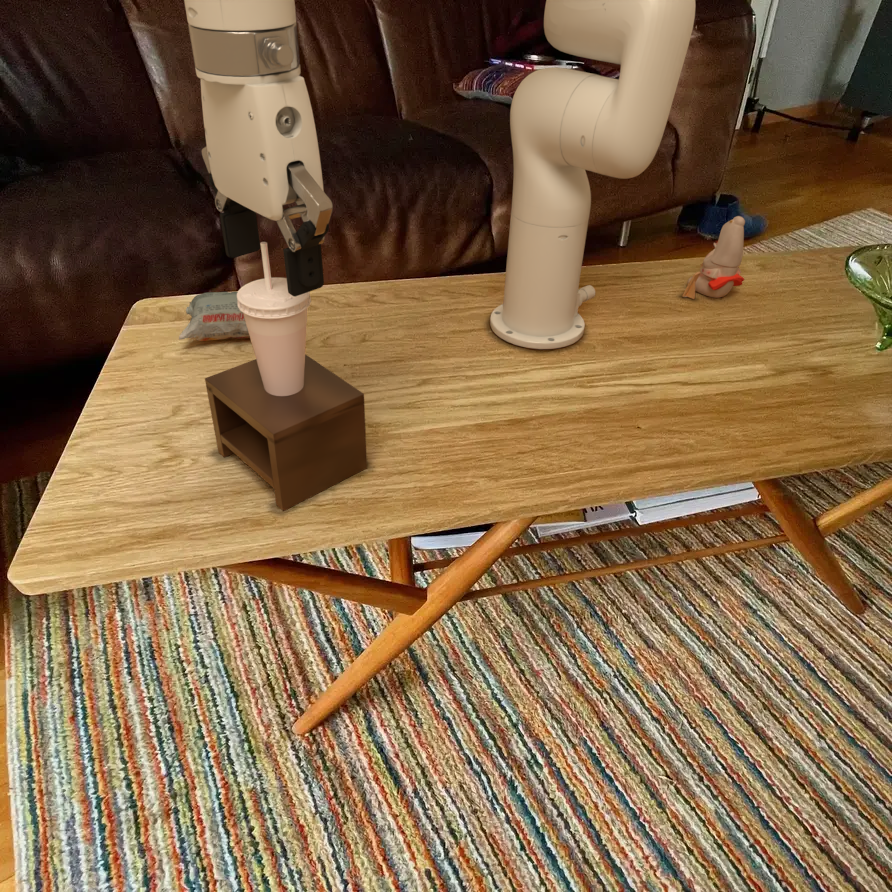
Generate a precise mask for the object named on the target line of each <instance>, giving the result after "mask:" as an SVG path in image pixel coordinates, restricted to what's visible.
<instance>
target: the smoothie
mask: <svg viewBox="0 0 892 892" xmlns="http://www.w3.org/2000/svg"><path fill="white" fill-rule="evenodd" d="M260 250H261V261H262V267H263V275H264V276H263V277H264V278H260V279H255V280H253V281H250V282H248V283H246V284H244V285H243V286H241V287H240V288H239V289H238V291H236V292H237V300H238V302H237V303H238V308H239V309H240V311H241V312H243V314H244V318H245V321H246V325H247V328H248V332H249V335H250V338H249V339H250V342H251V345H252V349H253V353H254V357H255V359H256V360H257V364H258V367H259V371H260V374H261V378H262V381H263V385H264V388H265V390H266V392H268V393H269V394H271V395H275V396H289V395H293V394H295V393H297V392H299V391H300V390H301V389H302V388H303V386H304V368H305V354H306V343H307V323H308V308H309V307H310V306H311V304H312V297H311V291H310V292H307V293H304V294H301V295H298V296H292V295H291V294H289V293H288V287H287V278H286V277H277V276H275V277H272V275H271V274H272V273H271V266H270V257H269V248H268V242H267V241H260Z"/></svg>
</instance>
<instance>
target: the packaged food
mask: <svg viewBox="0 0 892 892" xmlns="http://www.w3.org/2000/svg"><path fill="white" fill-rule="evenodd" d="M237 292H238V291H230V292H229V291H215V292H214V291H213V292H212V291H211V292H203V293H200V294H196V295H195V296H194V297H193V298H192V300H191V301H190V302H189V305H188V306H186V308H185V313H186V315H189V316H191V318H190V320H189V323H188V324H187V326H186V327H185V328H184V329H183V330H182V332H181V333H180V334H179V336H178V340H179V341H180V340H185V339H194V340H196V341H200V342H208V341H218V340H219V341H221V340H229V339H236V340H240V339H250V335H249V332H248V328H247V325H246V321H245V318H244V314H243V312H241V311H240V309H239V308H238V303H237V302H238V300H237Z"/></svg>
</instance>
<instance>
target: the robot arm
mask: <svg viewBox="0 0 892 892" xmlns="http://www.w3.org/2000/svg"><path fill="white" fill-rule="evenodd" d="M183 2H184V8H185V13H186V20H187V23H188V24H187V27H188V33H189V39H190V45H191V51H192V57H193V62H194V69H195V75H196V77H197V78H198V79H200V95H201V96H200V97H201V106H202V109H201V110H202V119H203V127H204V128H203V129H204V136H205V144H206V146H204V147H203V148H202V149H201V156H202V159H203V162H204V164H205V168H206V170H207V173H208V174H209V175H208V183H209V185H210V187H211V188H212V190H213V191H214V194H215V198H214V205H215V207H216V210H217V211H218V212H220V213H219V221H220V225H221V231H222V238H223V243H224V250H225V255H226V256H227V257H228V258H230V259H235V258H240V257H242V256H245V255H249V254H253V253H255V252H258V251H260V250H261V244H260V243H261V240H260V233H259V225H258V218H257V214H258V215H260V216H262V217H265V218H266V219H269V220H271V221H275V222H276V224H277V226H278V228H279V230H280V232H281V234H282V236H283V238H284V241H285V242H286V245H287V247H285V248H283V249H282V250H283V259H284V261H283V262H284V268H285V276H286V277H285V278H287V287H288V293H289V294H291V295H292V296H298V295H301V294H304V293H307V292H310V293H311V292H313V291H315V290H319V289H321V288H323V286H324V284H325V280H324V277H325V276H324V269H323V267H324V266H323V254H322V244H323V243H325V241H326V238H325V237H326V236H327V233H329V230H330V220H331V216H332V213H333V210H334V207H333V201H332V200H331V198H330V197H329V196H328V194H326V193H325V191H324V190H325V189H324V181H323V171H322V163H321V155H320V147H319V142H318V141H319V140H318V135H317V129H316V123H315V118H314V117H315V116H314V112H313V107H312V104H311V99H310V95H309V91H308V87H307V85H306V81H305V78H304V77H303V76H301V73H302V72H301V71H302V70H301V64H300V63H301V61H300V48H299V37H298V26H297V14H296V13H297V12H296V3H295V0H183ZM695 18H696V0H546V1H545V6H544V13H543V30H544V35H545V38H546V40H547V42H548V43H549V44H550V45H551V46H552V47H553V48H554V49H556V50H558V51H559V52H562V53H565V54H568V55H570V56H571V55H572V56H575V57H580V58H585V59H590V60H594V61H598V62H599V61H600V62H604V63H611V64H615V65H620V69H619V76H618V79H617V78H614V77H608V76H603V75H600V74H597V73H590V72H588V71H587V72H586V71H582V70H578V69H571V68H566V67H555V66H554V67H544V68H541V69H537V70H534V71H532V72H531V73H529V74H528V75H527V76H526V77H524V78H523V79H522V80H521V82H520V83H519V85H518V86H517V88H516V90H515V92H514V94H513V97H512V100H511V103H510V110H509V111H510V112H509V129H510V138H511V147H512V148H511V149H512V157H513V159H512V160H513V161H512V163H513V178H512V179H513V181H512V182H513V183H512V197H511V198H512V199H511V210H510V220H509V230H508V232H509V233H508V242H507V253H506V254H507V257H506V268H505V278H504V289H503V302H502V303H501V304H499V305H498V306H496V307H495V308H494V309H493V310H492V312H491V313H490V318H489V320H490V321H489V326H490V328H491V330H492V332H493V333H494V335H496V336H497V337H499V338H500V339H501V340H503V341H505V342H507V343H509V344H511V345H514V346H518V347H522V348H527V349H533V350H554V349H561V348H566V347H569V346H571V345H573V344H575V343H576V342H578V341H580V339H581V338H582V337H583V335H584V333H585V327H586V326H585V325H586V323H585V320H584V318H583V317H582V315H581V314H580V313H579V312H578V311H579V308H580V307H581V306H582V305H583V303H585V302H587V301H589V300H592V299H594V298H595V297H596V289H595V288H594V286H593V285H591V284H588V285H585V286H583V287H580V282H581V281H580V280H581V272H582V266H583V260H584V254H585V253H584V252H585V248H586V247H585V246H586V240H587V234H588V233H587V232H588V227H589V221H590V220H589V219H590V214H591V208H592V206H591V205H592V192H591V186H590V181H589V178H588V175H587V171H589V172H592V173H595V174H599V175H602V176H607V177H610V178H616V179H621V180H622V179H623V180H624V179H627V180H628V179H632V178H635V177H638V176H639V175H640V174H642V173H643V172H645V171H646V170H647V169H648V167H649V166H650V165H651V163H652V162H653V160H654V158H655V157H656V155H657V152H658V149H659V147H660V145H661V141H662V139H663V137H664V133H665V129H666V126H667V123H668V119H669V115H670V113H671V109H672V105H673V102H674V98H675V95H676V91H677V88H678V84H679V81H680V77H681V75H682V70H683V66H684V63H685V60H686V56H687V52H688V49H689V45H690V42H691V37H692V33H693V29H694V23H695ZM294 203H295V204H296V205H294V206H289V207H287V208H284V207H283V206H285V205H290V204H294ZM297 218H301V220H302V224H301V225H300V226H299V228H298V229H297V231H296V229H295V227H294V224H293V222H292V220H294V219H297Z"/></svg>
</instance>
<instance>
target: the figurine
mask: <svg viewBox="0 0 892 892" xmlns="http://www.w3.org/2000/svg"><path fill="white" fill-rule="evenodd" d="M745 224H746V220H745V218H744V217H743V216H741V215H737V216H734V217H733V219H730V220H728V221H727V222H726V223H724V224H723V225H722V227H721V230H720V233H719V236H718V239H717V240H715V242H713V246H714V249H713V250H711V251H709V253H707V254H706V255H705V257H704V259H703V260H702V263H701V265H700V267H699V271H697V272H694V273H693V275H692V276H690V277H689V278H688V279H687V281H686V282H687V285H686V288H685V290H684V291H683V293H682V294H681V297H683V298H690V299H692V300H695V298H696V292H697V293H699V294H701V295H704V296H706V297H709V298H713V299H714V298H716V299H717V298H718V299H719V298H724V297H725V296H727V295H729V293H730V292H731V290H732V288H733V287H739V286H742V285H743V282H745V278H744V277H743V276H742V275H740V274H742V270H741V268H740V267H739V266H741V264H742V260H743V257H744V256H743V255H744V244H745V242H744V241H745V240H744V239H745V227H744V226H745Z"/></svg>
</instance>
